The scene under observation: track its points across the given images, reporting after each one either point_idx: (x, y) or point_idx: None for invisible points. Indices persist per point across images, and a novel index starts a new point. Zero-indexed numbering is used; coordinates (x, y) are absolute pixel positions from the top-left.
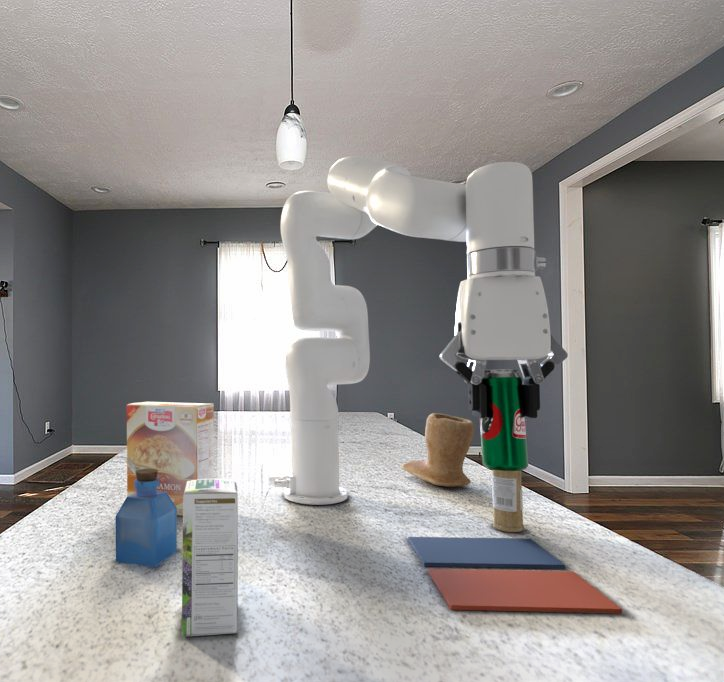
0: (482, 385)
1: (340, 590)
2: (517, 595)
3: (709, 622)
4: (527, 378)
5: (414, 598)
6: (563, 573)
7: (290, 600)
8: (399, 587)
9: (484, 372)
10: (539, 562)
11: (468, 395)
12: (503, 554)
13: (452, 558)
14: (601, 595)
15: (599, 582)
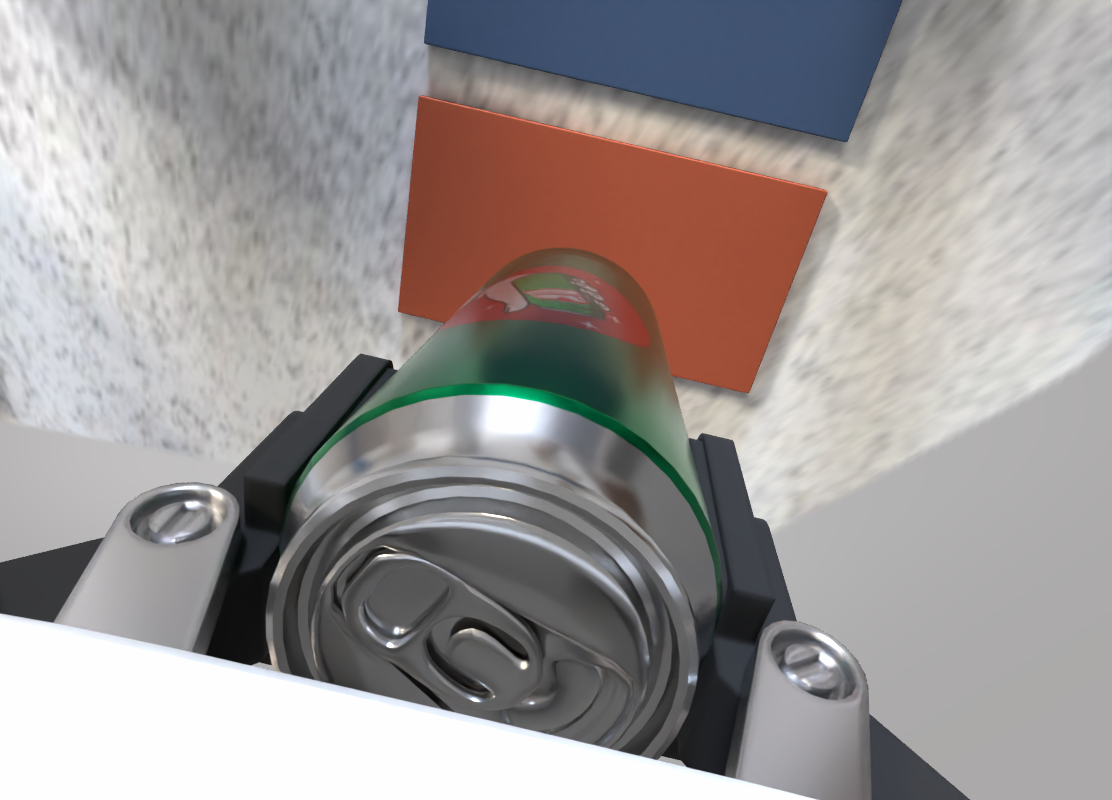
0: (264, 661)
1: (169, 167)
2: None
3: (885, 446)
4: (703, 734)
5: (338, 241)
6: (785, 201)
7: (56, 199)
8: (317, 176)
9: (289, 651)
10: (784, 107)
11: (250, 457)
12: (720, 13)
13: (528, 21)
14: (763, 334)
15: (852, 243)
